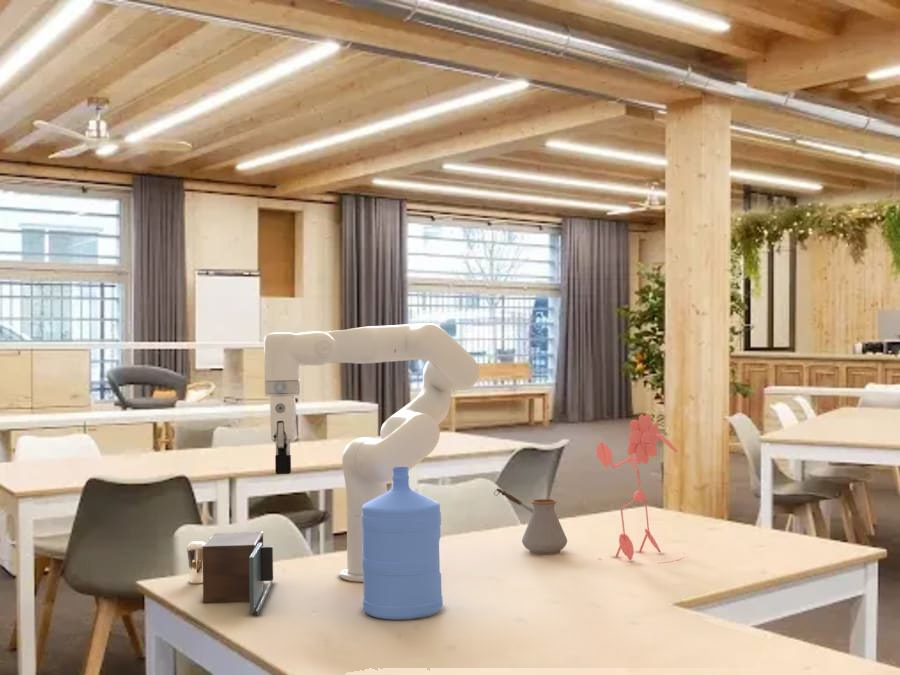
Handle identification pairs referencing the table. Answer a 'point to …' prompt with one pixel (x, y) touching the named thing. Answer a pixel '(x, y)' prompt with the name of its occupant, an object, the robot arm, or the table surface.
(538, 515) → the coffee pot
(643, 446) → the figurine
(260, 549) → the glass door
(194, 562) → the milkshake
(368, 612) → the water jug
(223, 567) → the cabinet
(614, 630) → the table surface
